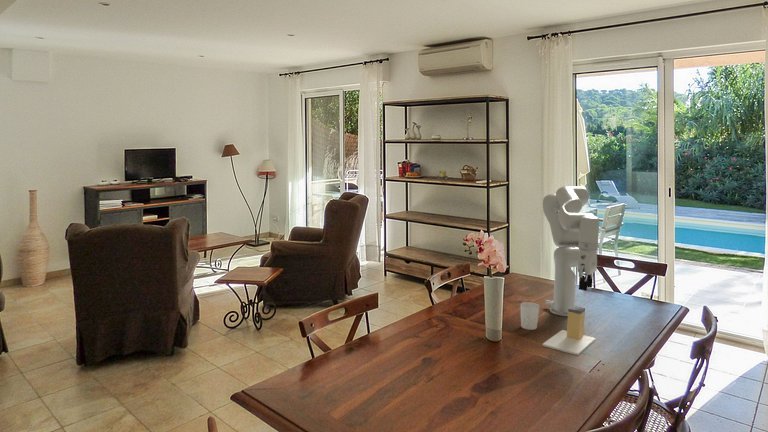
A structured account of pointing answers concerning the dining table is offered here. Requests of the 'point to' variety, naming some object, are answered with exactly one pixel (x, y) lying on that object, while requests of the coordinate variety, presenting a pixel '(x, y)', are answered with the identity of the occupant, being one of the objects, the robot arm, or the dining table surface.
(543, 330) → the dining table surface
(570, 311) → the ochre block
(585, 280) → the robot arm
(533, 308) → the white cup
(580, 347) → the white board
